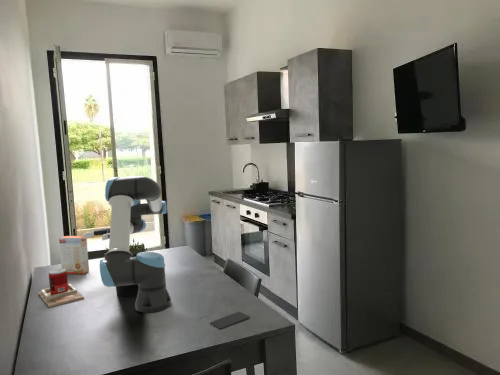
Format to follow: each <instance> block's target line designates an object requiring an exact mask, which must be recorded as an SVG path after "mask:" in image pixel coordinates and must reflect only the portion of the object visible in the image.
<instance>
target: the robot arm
mask: <svg viewBox="0 0 500 375" xmlns="http://www.w3.org/2000/svg"><path fill="white" fill-rule="evenodd" d="M104 190H105V193H104V196H105V200H106V201H107V202H108V205H109V206H110V207H111V211H110V212H111V213H110V228H109V227H108V228H102V229H94V230H90V231H88V232H84V233H82V236H83V239H86V238H87V239H88V238H94V237H95V236H101V239H102V241H106V240H108V242H109V244H108V251H107V252H106V253H105V254H104V258H103V259H100V261H99V273H100V278H101V283H102V285H103V286H105V287H108V288H109V287H110V288H111V287H123V286H124V287H125V286H132V285H133V286H135V285H138V286H137V287H138V288H137V289H138V291H137V294H136V300H135V303H134V305H135V307H134V308H135V310H136V311H137V312H140V313H144V314H150V313H152V314H153V313H157V312H161V311H162V312H163V311H164V310H167V309H168V308H170V307H171V305H172V299H171V296H170V293H169V291H168V289H167V284H166V282H167V281H166V280H167V279H166V263H165V256H164V255H163V254H161V253H158V252H154V251H143V252H138V253H136V255H135V256H134V255H133V253H132V252H131V251H130V241H131V240H130V239H131V235H133V234H137V233H141V232H143V231H144V230H146V226H147V223H146V221H145V219H143V218H142V216H149V215H163V214H164V215H165V214H167V213H168V212H167V210H168V209H167V202H166V200H162V197H161V195H162V194H161V193H162V189H161V187H160V184H158V183H157V182H156V181H155V180H154V179H153V178H150V177H148V176H142V175H136V176H115V177H110V178H108V180H107V182H106V184H105V189H104ZM141 200H142V201H141ZM143 200H145V201H143Z"/></svg>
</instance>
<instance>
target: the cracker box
mask: <svg viewBox="0 0 500 375" xmlns="http://www.w3.org/2000/svg"><path fill="white" fill-rule="evenodd" d="M58 240H59V253H60V254H59V255H60V263H61V268H65V269H66V270H67V275H68V274H69V275H84V274H86V273H89V272H90V266H89V265H90V264H89V253H88V252H89V250H88V238H86V239H83V235H65V236H64V235H63V236H61V237H59V238H58Z"/></svg>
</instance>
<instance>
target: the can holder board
mask: <svg viewBox="0 0 500 375" xmlns="http://www.w3.org/2000/svg"><path fill="white" fill-rule="evenodd" d="M40 290H41V291H38V296H39V298H41V300H42V301H43V303H45V305H46V306H47V308H49V309H50V308H54V307H56V306H57V307H58V306H60V305H65V304H70V303H74V302H78V301H82V300H85V296H83V295H82V293H80V291H78V289H76V288H75V287H74V286H73V285H72V284H71V283H68V292H64V293H59V294H55V295H51V293H50V287H48V288H42V289H40Z"/></svg>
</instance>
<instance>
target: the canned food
mask: <svg viewBox="0 0 500 375" xmlns="http://www.w3.org/2000/svg"><path fill="white" fill-rule="evenodd" d="M48 280H49V281H48V282H49V288H50V293H51V295H55V294H59V293H64V292H68V284H69V283H68V274H67V270H66V269H65V268H62V267H59V268H54V269H51V270H49V271H48Z"/></svg>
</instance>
